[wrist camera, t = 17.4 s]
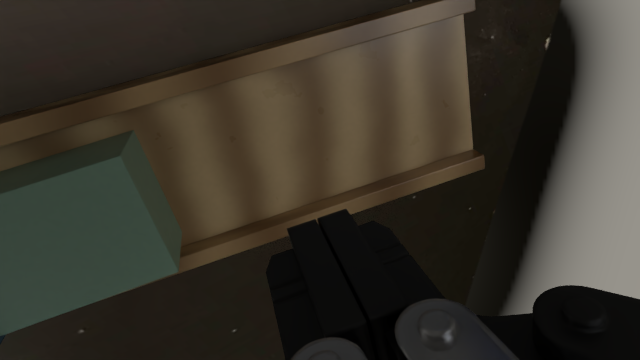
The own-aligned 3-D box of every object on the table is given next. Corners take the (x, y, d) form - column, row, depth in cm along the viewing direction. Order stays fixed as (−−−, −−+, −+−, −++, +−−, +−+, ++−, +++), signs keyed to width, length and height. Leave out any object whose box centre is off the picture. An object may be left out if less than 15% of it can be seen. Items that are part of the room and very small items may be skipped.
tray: (23, 304, 31) (6, 333, 28) (-93, 142, 25) (-129, 159, 22) (463, 156, 36) (485, 168, 33) (450, -9, 30) (474, -9, 27)
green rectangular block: (25, 286, 29) (-8, 339, 24) (-49, 186, 25) (-102, 226, 21) (182, 232, 30) (179, 272, 26) (133, 129, 27) (119, 155, 22)
